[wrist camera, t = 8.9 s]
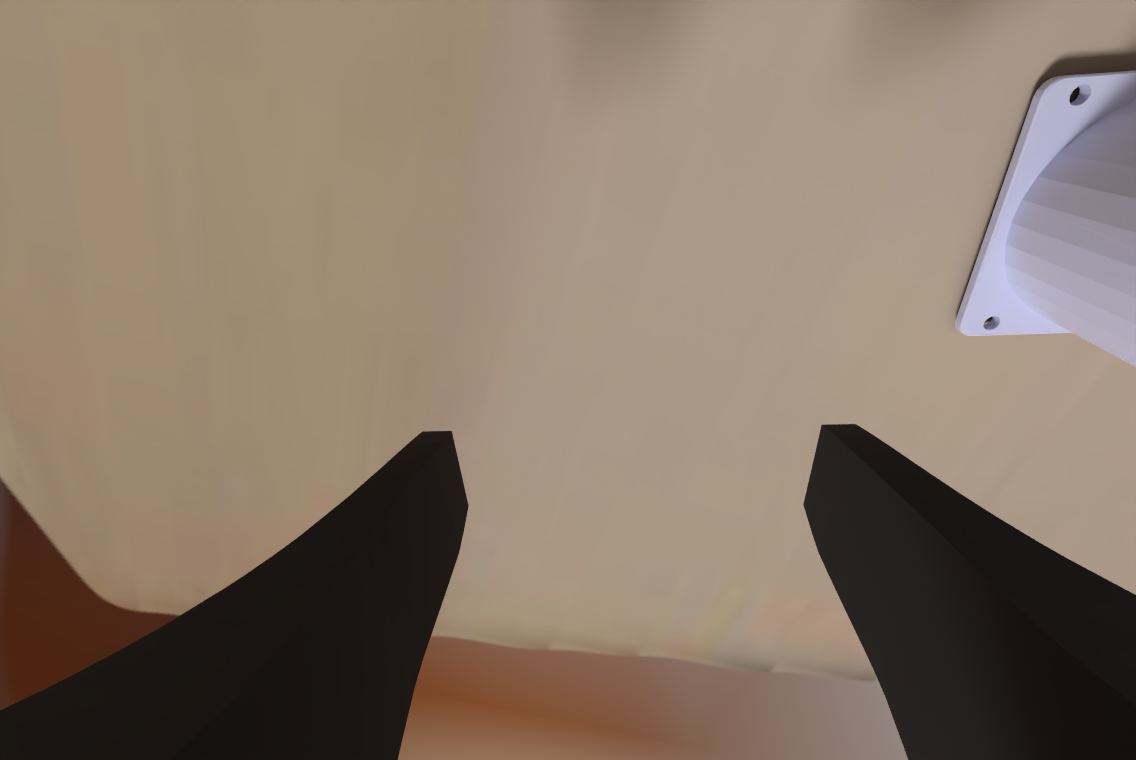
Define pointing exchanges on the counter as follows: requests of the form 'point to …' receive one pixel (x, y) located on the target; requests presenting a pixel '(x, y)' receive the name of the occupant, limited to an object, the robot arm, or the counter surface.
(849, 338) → the counter surface
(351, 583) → the robot arm
